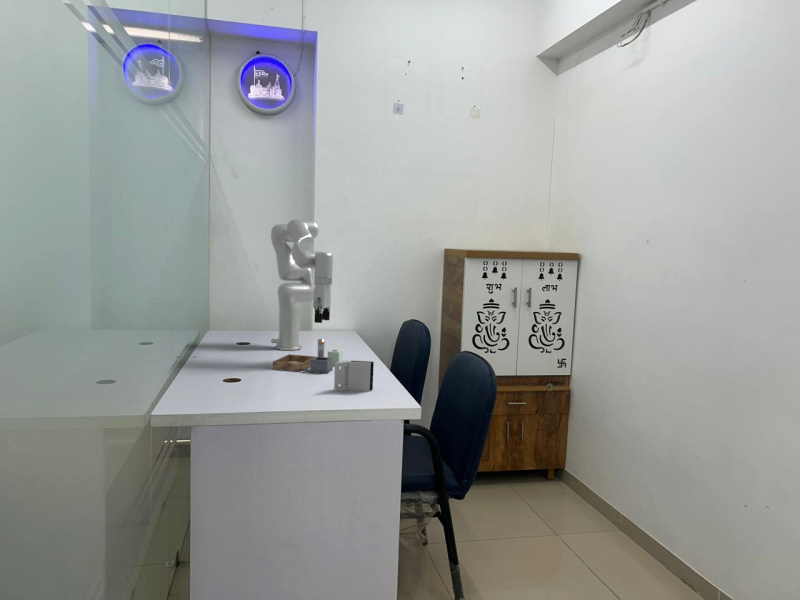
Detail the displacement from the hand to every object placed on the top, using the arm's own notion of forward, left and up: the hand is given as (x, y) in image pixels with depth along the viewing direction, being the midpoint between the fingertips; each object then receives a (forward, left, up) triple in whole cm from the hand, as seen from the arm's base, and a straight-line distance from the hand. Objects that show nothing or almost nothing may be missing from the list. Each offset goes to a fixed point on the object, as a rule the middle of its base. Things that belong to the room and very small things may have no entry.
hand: (322, 321), depth 242 cm
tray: (-7, -11, -18) cm, 22 cm away
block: (+6, -16, -18) cm, 25 cm away
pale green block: (+7, -2, -18) cm, 19 cm away
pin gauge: (0, 0, -18) cm, 18 cm away
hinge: (+26, -40, -18) cm, 51 cm away
